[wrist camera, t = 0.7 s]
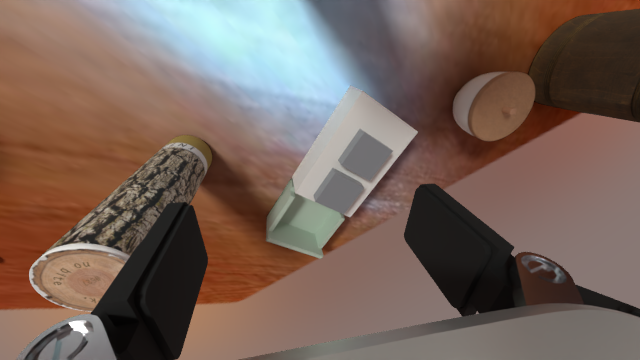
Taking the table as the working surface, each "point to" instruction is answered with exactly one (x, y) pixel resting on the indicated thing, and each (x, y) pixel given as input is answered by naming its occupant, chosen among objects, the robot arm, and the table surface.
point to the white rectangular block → (337, 135)
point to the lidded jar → (494, 104)
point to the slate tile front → (364, 155)
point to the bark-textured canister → (119, 226)
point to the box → (301, 223)
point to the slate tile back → (338, 191)
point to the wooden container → (592, 66)
